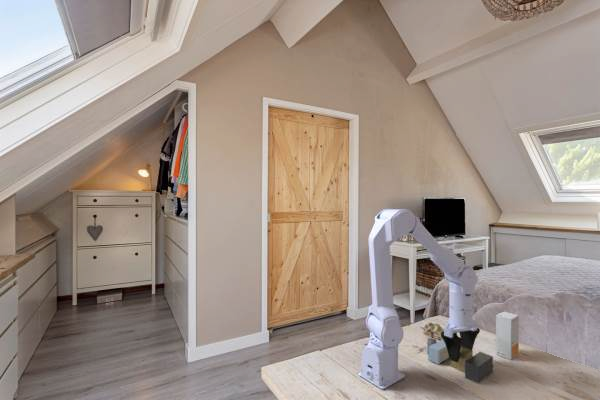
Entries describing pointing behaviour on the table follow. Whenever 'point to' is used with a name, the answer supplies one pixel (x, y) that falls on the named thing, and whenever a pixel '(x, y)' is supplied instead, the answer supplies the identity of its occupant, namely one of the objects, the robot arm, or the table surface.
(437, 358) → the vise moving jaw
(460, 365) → the brass block
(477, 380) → the grey block
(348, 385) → the table surface
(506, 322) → the skincare box
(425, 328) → the mineral rock
